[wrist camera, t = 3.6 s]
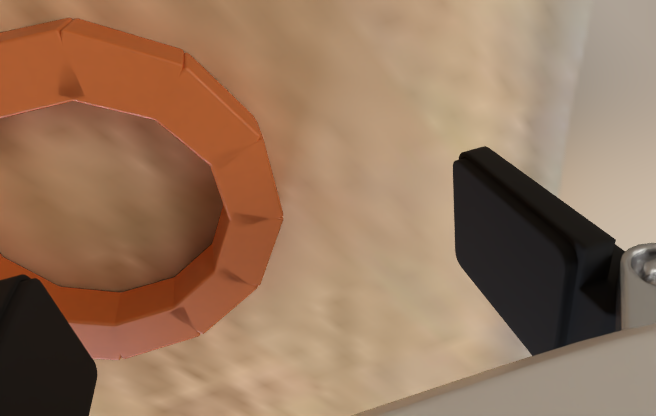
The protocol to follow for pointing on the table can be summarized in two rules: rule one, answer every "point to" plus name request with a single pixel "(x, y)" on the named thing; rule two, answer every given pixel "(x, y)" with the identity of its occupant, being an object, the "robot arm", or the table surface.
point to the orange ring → (187, 126)
